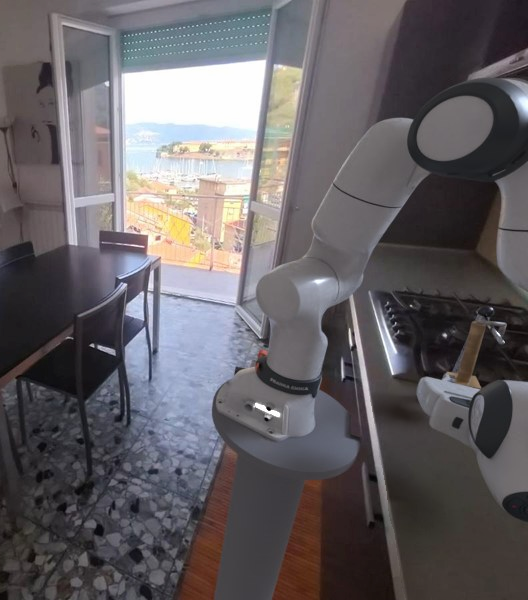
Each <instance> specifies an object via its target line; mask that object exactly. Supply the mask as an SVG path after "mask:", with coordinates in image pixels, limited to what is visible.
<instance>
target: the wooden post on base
mask: <svg viewBox="0 0 528 600" xmlns="http://www.w3.org/2000/svg"><path fill="white" fill-rule="evenodd" d="M487 325H489V326H493V327H498V330H497V332H498V334H499V335H500V337H501V338H503V337H504V335H505V332H506V329H507V325H508V324H507V322H503V321H491V320H489V321H483V320H478V321H475V320H473V321H472V322H471V324H470V328H469V331H468V336H467V338H468V339H467V338H466V340H467V343H466V346H465V350H464V354H463V357H462V361H461V365H460V368H459V372H458V373H452V371H446V373H445V374H449V375H454V376H455V378H456V381H455V384H460V385H464V386H468V387H472V388H476V389H482V387H481V385H480V382H479V380H478V378H477V376H476V375H473V373H474V370H475V367H476V362H477V359H478V356H479V352H480V348H481V346H482V341H483V338H484V335H485V332H486V328H487Z"/></svg>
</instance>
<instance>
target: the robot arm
mask: <svg viewBox="0 0 528 600" xmlns="http://www.w3.org/2000/svg"><path fill="white" fill-rule="evenodd" d="M431 174H434V175H437V176H441V177H445V178H451V179H453V178H454V179H463V180H469V181H475V182H483V183H491V182H494V183H496V185H497V186H498V189H499V192H500V196H501V197H500V199H501V200H500V201H501V203H500V210H499V211H500V212H499V218H498V226H497V233H496V244H495V250H496V251H495V252H496V253H495V254H496V263H497V267H498V269H499V270H500V272H501V273H502V274H503V275H504V277H505V278H506V279H507V280H508V281H510V282H511V283H512V284H514V285H515V286H517V287H519V288H520V289H523V290H525V291H526V292H528V80H526V79H522V78H517V77H500V78H498V77H478V78H472V79H468V80H465V81H462V82H459V83H457V84H453V85H452V86H450V87H447V88H445V89H443V90H442V91H441V92H439V93H438V94H436V95H435V96H433V97H432V98H430V99H429V100H428V101H427V102H426V103H425V104H424V105H423V106H422V107H421V108H420V109H419V111H418V112H417V113H416V115H415V117H414V118H408V117H391V118H387V119H383V120H381V121H378V122H376V123H375V124H373V125H372V126H370V128H369V129H368V130H367V131H366V132H365V133H364V134H363V136H362V137H361V138H360V139H359V141H358V142H357V144H356V145H355V146H354V148H353V149H352V150H351V151H350V153H349V155H348V156H347V158H346V159H345V161H344V162H343V164H342V166H341V167H340V169H339V170H338V171H337V174H336V175H335V177H334V179H333V181H332V182H331V184H330V186H329V188H328V190H327V192H326V193H325V195H324V197H323V199H322V201H321V203H320V205H319V207H318V209H317V211H316V212H315V214H314V216H313V217H312V220H311V230H312V233H313V236H312V240H311V243H310V247H309V249H308V251H307V252H306V253H305V254H304V255H303V256H302V257H301V258H299V259H296V260H293V261H289V262H286V263H283V264H280V265H277V266H276V267H275V268H273V269H271V270H270V271H268V272H267V273H266V274H264V275H263V276H262V277H261V278H259V280H258V282H257V284H256V287H255V300H256V303H257V305H258V308H259V310H260V311H261V312H262V314H264V316H265V317H267V318H268V320H269V324H270V325H269V326H270V336H269V342H268V348H267V350H266V349H263V348H262V349H260V350H259V351H258V353H257V360H256V362H255V366H252V367H247V368H245V367H241V366H235V368H234V375H233V377H232V378H231V380H230V379H229V380H230V381H228V380H227V381H228V382H227V381H225V382H226V383H225V382H224V383H225V384H224V383H223V384H224V385H223V386H222V387H221V389H220V390H219V392H218V395H217V398H216V409H217V411H218V412H219V413H221V414H223V415H225V416H226V417H228V418H230V419H232V420H234V421H236V422H238V423H240V424H242V425H244V426H246V427H248V428H250V429H252V430H254V431H256V432H258V433H260V434H262V435H264V436H265V437H267V438H269V439H271V440H273V441H276V442H279V441H283V440H285V439H287V438H291V437H301V436H305V435H307V434H309V433H311V432H312V431H313V429H314V427H315V417H314V404H315V397H316V395H317V393H318V391H319V390H320V387H321V384H322V380H323V371H322V368H323V365H324V360H325V356H326V352H327V350H328V349H327V348H328V345H329V342H328V341H329V340H328V337H327V336H326V334H325V332H323V330H322V320H323V319H322V318H323V316H324V314H325V312H326V311H327V309H329V308H331V307H334V306H336V305H338V304H340V303H342V302H344V301H346V300H348V299H349V298H350V297H351V296H352V295H353V294H354V293H355V292H357V290H359V288H360V287H361V285H362V283H363V280H364V272H365V269H366V267H367V265H368V262H369V260H370V258H371V256H372V253H373V251H374V249H375V248H376V246H377V244H378V243H379V241H380V240H381V239H382V237H383V236H384V234H385V233H386V232H387V230H388V228H389V227H390V226H391V224H392V223H393V221H394V220H395V219H396V217H397V216H398V214H399V213H400V211H401V210H402V208H403V207H404V205H405V204H406V202H407V201H408V200H409V198H410V196H411V195H412V193H414V191H415V190H416V188H417V187H418V186H419V185H420V184H421V182H422V181H423V180H425V179H426V177H428V176H430V175H431ZM455 381H456V378H455V376H454V375H449V374H446V373H444V374H443V376H442V378H441V379H439V378H434V377H430V376H423V377H421V378H420V379H419V381H418V384H417V387H416V391H415V392H416V393H415V394H416V397H417V400H418V403H419V405H420V407H421V409H422V411H423V412H424V413H425V414H426V415H427V416H429V421H428V425H429V426H430V427H431V429H433V430H436V432H437V431H438V432H439V433H442V434H444V435H446V436H448V437H450V438H453V439H455V440H456V441H458V442H460V443H462V444H463V445H465V446H467V447H468V448H470V449H472V450H473V452H474V453H475V454H476V463H477V465H478V468H479V472H480V473H481V476H482V478H483V481H484V482H485V484H486V487H487V488H488V490H489V492H490V494H491V495H492V497H493V498H494V500H495V502H496V503H497V505H498V506H499V507H500V508H501V509H502V510H503V511H504V512H505V513H507V514H508V515H510V517H511V516H512V518H515V519H517V520H518V521H519V520H520V521H522V522H525V523H528V381H520V380H509V379H495V380H493V381H491V382H489V383H487V384H486V385H485V386H483V387H481V389H476V388H472V387H468V386H464V385H460V384H455Z"/></svg>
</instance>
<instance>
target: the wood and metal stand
mask: <svg viewBox="0 0 528 600" xmlns="http://www.w3.org/2000/svg"><path fill="white" fill-rule="evenodd" d="M494 315H495V309H494V308H493V307H492V306H489V305H482V306H480V307H479V308H478V309H477V315H476V318H475V320H474V321H478V320H483V321H490V319H491V317H493V316H494ZM486 328H488V329H489V331H490V332H491V334H492V336H493V337H494V339H495V340H496V342H497V343H498V344H499V345H501V346H503V345H505V341H504V339H503V337H500V335H499V334H498V330H496V328H495V326H489V325H486ZM467 339H468V337H466V340H465V342H464V344H463V346H462V349H461V351H460V353H459V355H458V358H457V360H456V362H455V365H454V367H453V369H452V370H451V372H452V373H458V372H459V368H460V365H461V361H462V357H463V354H464V350H465V346H466V343H467Z"/></svg>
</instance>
